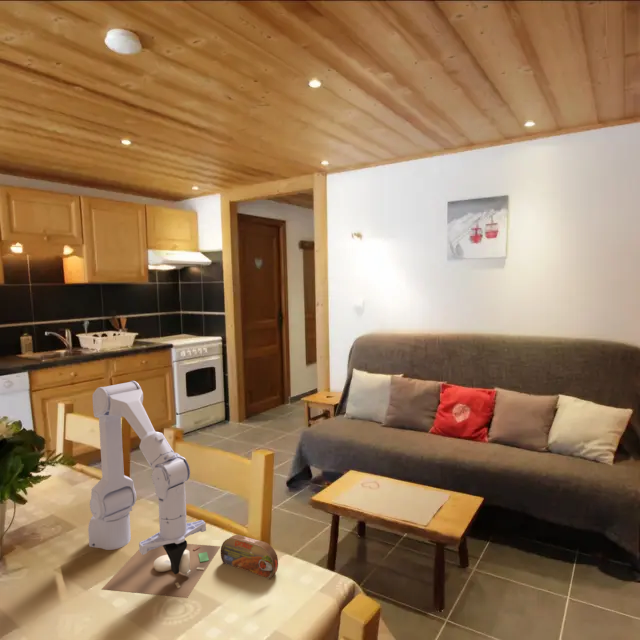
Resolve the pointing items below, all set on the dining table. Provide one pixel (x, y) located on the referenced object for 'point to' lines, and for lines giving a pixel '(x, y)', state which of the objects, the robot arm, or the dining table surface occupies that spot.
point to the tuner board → (161, 573)
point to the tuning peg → (165, 564)
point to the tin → (250, 555)
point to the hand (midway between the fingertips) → (175, 571)
